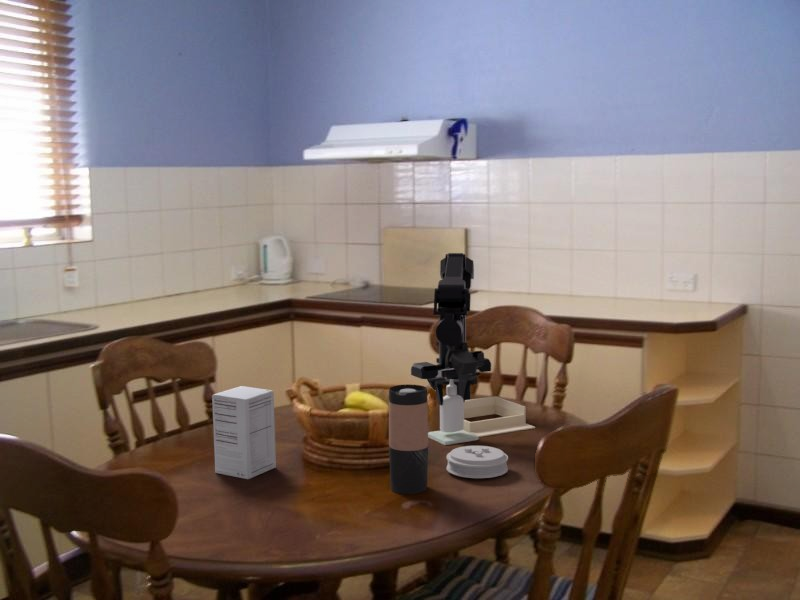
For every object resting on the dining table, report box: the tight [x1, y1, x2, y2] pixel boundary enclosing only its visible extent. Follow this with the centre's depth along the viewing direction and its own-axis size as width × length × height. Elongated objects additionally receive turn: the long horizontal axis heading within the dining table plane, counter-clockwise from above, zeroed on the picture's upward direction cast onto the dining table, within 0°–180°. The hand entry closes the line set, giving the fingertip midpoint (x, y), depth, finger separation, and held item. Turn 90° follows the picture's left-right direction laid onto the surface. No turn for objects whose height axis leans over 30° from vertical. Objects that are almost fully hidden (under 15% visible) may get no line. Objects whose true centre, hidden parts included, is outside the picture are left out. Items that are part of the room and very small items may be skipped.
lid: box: [446, 445, 509, 479], centre depth 196 cm, size 13×13×5 cm
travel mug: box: [388, 384, 429, 495], centre depth 185 cm, size 8×8×20 cm
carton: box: [463, 395, 536, 438], centre depth 234 cm, size 17×16×4 cm
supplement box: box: [211, 385, 277, 480], centre depth 198 cm, size 10×9×17 cm
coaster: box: [428, 429, 479, 446], centre depth 223 cm, size 9×9×1 cm
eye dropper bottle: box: [439, 380, 465, 432], centre depth 222 cm, size 4×6×12 cm
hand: (451, 403), depth 222 cm, fingers open, 6 cm apart
